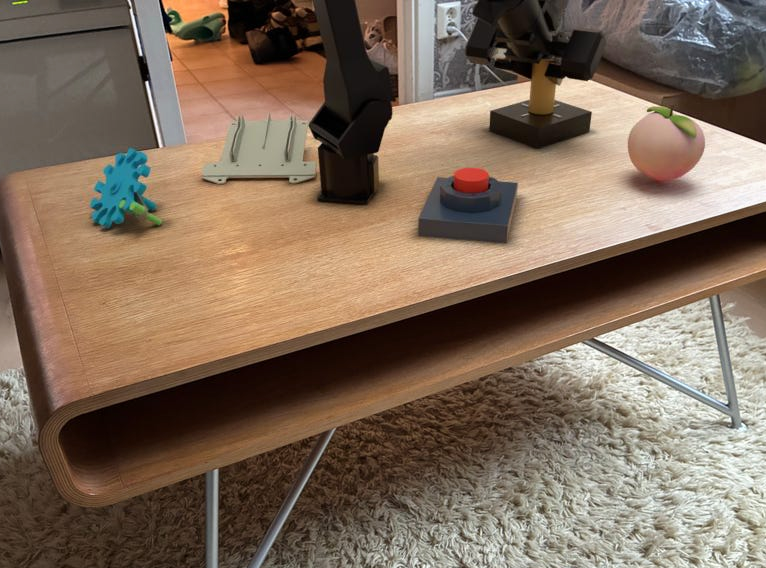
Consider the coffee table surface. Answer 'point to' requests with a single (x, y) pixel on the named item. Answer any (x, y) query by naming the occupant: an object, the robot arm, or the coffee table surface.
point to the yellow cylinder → (541, 90)
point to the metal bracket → (263, 151)
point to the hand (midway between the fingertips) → (548, 80)
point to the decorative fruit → (665, 144)
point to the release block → (469, 212)
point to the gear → (123, 191)
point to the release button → (471, 180)
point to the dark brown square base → (540, 123)
